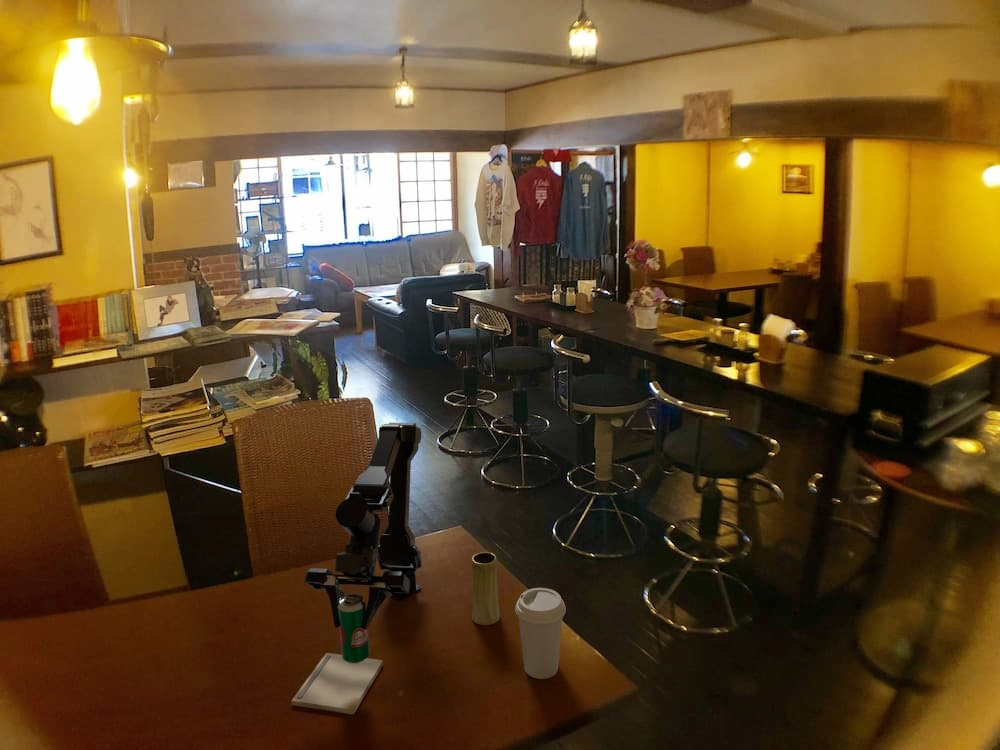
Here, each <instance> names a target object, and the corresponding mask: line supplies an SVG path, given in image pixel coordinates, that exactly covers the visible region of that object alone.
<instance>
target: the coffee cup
mask: <svg viewBox="0 0 1000 750" xmlns="http://www.w3.org/2000/svg"><path fill="white" fill-rule="evenodd" d="M514 611H515V614H516V615H517V618H518V623H519V624H518V626H519V633H520V634H519V635H520V641H521V651H522V659H523V667H524V672H525V673H526V674H527V675H528V676H529V677H531V678H534V679H538V680H545V679H549V678H552V677H554V676H555V675H557V672H558V671H559V662H560V653H561V652H560V651H561V641H562V640H561V638H562V632H563V631H562V630H563V628H562V627H563V619H564V616H565V614H566V611H567V609H566V604H565V602H564V600H563V599H562V597H561V595H560V594H559V593H558V592H557V591H555V590H553V589H550V588H547V587H534V588H529V589H527V590H525V591H524V592H522V593H521V594H520V596H519V598H518V600H517V602H516V604H515V607H514Z"/></svg>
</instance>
